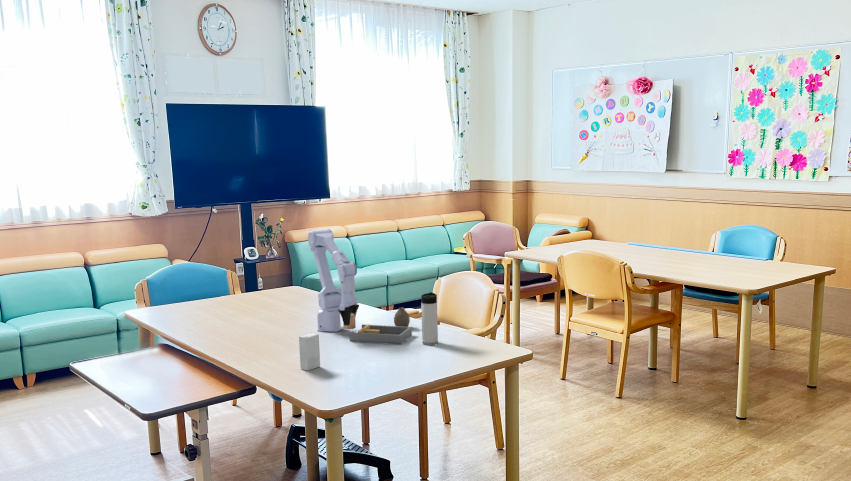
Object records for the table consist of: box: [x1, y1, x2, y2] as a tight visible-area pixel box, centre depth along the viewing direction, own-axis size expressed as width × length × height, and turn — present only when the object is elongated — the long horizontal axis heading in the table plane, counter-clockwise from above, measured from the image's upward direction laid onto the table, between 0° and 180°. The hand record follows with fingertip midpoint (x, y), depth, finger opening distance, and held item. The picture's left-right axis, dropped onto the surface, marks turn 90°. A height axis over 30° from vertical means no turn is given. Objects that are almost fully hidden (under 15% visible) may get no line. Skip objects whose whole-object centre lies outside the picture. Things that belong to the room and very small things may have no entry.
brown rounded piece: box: [393, 307, 411, 327], centre depth 298 cm, size 7×7×9 cm
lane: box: [349, 324, 413, 345], centre depth 282 cm, size 22×14×4 cm, turn 73°
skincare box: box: [298, 332, 321, 371], centre depth 244 cm, size 6×4×12 cm
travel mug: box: [420, 291, 439, 346], centre depth 272 cm, size 6×7×20 cm
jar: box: [342, 313, 357, 330], centre depth 285 cm, size 5×5×6 cm
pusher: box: [357, 324, 380, 334], centre depth 283 cm, size 7×11×3 cm, turn 163°
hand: (349, 323), depth 286 cm, fingers closed on jar, 5 cm apart
